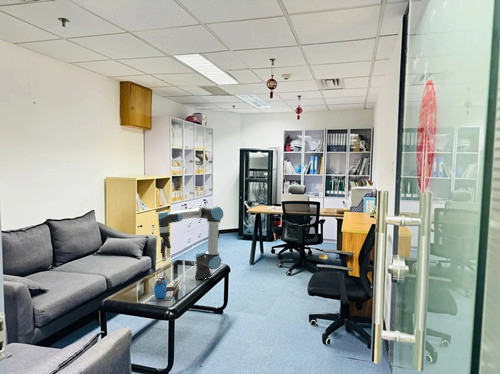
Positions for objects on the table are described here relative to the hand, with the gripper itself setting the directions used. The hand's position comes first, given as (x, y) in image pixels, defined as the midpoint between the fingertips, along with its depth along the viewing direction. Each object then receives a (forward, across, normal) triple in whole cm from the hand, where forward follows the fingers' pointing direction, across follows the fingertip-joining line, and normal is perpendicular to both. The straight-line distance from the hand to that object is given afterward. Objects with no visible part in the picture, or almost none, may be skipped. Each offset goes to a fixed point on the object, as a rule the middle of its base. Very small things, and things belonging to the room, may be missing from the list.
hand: (166, 258), depth 259 cm
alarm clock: (+27, -10, +4) cm, 29 cm away
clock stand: (+28, +2, 0) cm, 28 cm away
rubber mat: (+28, -10, +4) cm, 29 cm away
